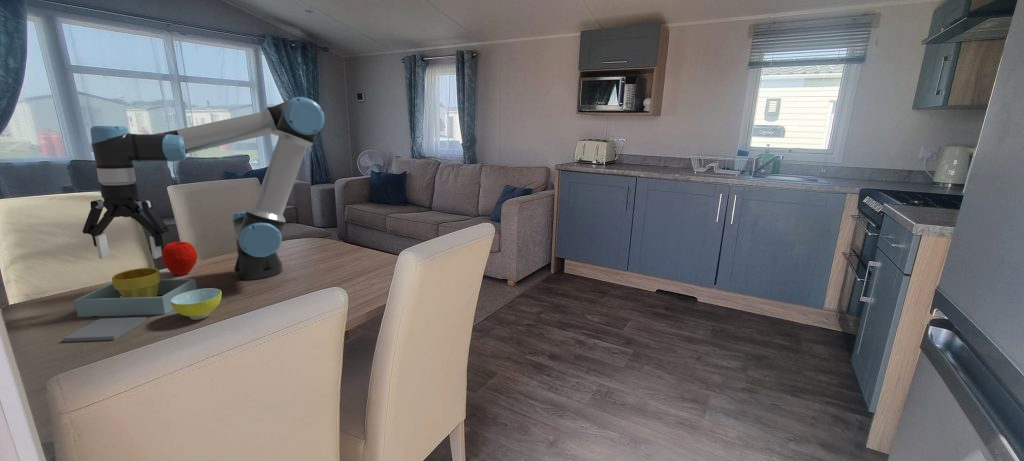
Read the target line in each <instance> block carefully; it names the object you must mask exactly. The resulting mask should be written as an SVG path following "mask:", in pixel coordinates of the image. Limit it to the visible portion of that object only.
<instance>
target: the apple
mask: <svg viewBox="0 0 1024 461" xmlns="http://www.w3.org/2000/svg"><path fill="white" fill-rule="evenodd" d="M161 251H162V256H161V258H162V263H163V265H164V266H165V268H166V269H167V270H168V271H169V273H171V274H173V275H175V276H186V275H187V274H189V273H191V271H192V269H193V268H194V267H195V266H196V264H197V261H198V254H197V253H198V252H197V250H196V248H195V247H194V246H193V244H192V243H190V242H187V241H178V240H176V241H173V242H170V243H167V244H166V245H164V247H163V248H162V249H161Z"/></svg>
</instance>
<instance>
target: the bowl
mask: <svg viewBox="0 0 1024 461" xmlns="http://www.w3.org/2000/svg"><path fill="white" fill-rule="evenodd" d="M222 295H223V293H222V290H221V289H218V288H210V287H209V288H207V287H206V288H197V290H192V291H188V292H185V293H182V294H179V295H177V296H175V297H173V298H172V299H171V305H172V307H173V308H174V309H173V310H174V311H176V312H177V313H178V314H179V315H182V316H185V317H189V319H190V320H193V321H194V320H195V321H196V320H197V321H198V320H201V319H206V318H207V317H210V316H211V312H213V311H214V310H215V309H216V308H217V307H218V306H219V305H220V303H221V300H222Z"/></svg>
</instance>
